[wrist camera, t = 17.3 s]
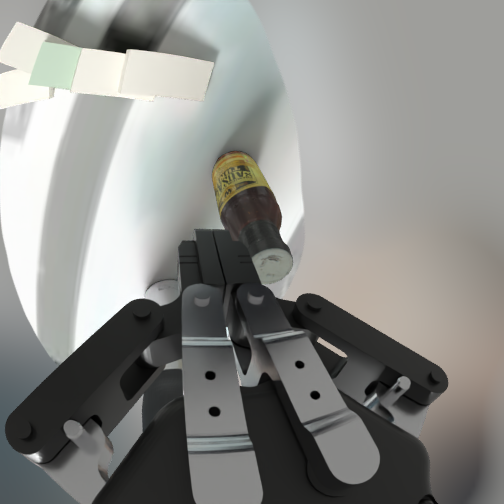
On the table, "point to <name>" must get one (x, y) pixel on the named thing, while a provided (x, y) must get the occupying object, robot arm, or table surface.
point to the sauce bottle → (251, 214)
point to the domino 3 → (55, 66)
